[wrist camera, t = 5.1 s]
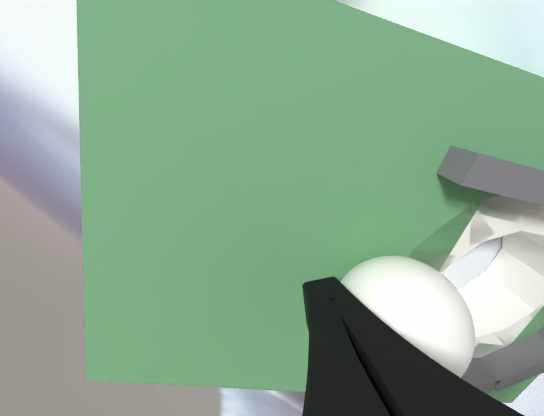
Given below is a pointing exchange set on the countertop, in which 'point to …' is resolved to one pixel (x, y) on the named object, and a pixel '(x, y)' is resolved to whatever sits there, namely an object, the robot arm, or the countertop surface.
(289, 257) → the mat
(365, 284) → the ball
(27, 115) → the countertop surface
